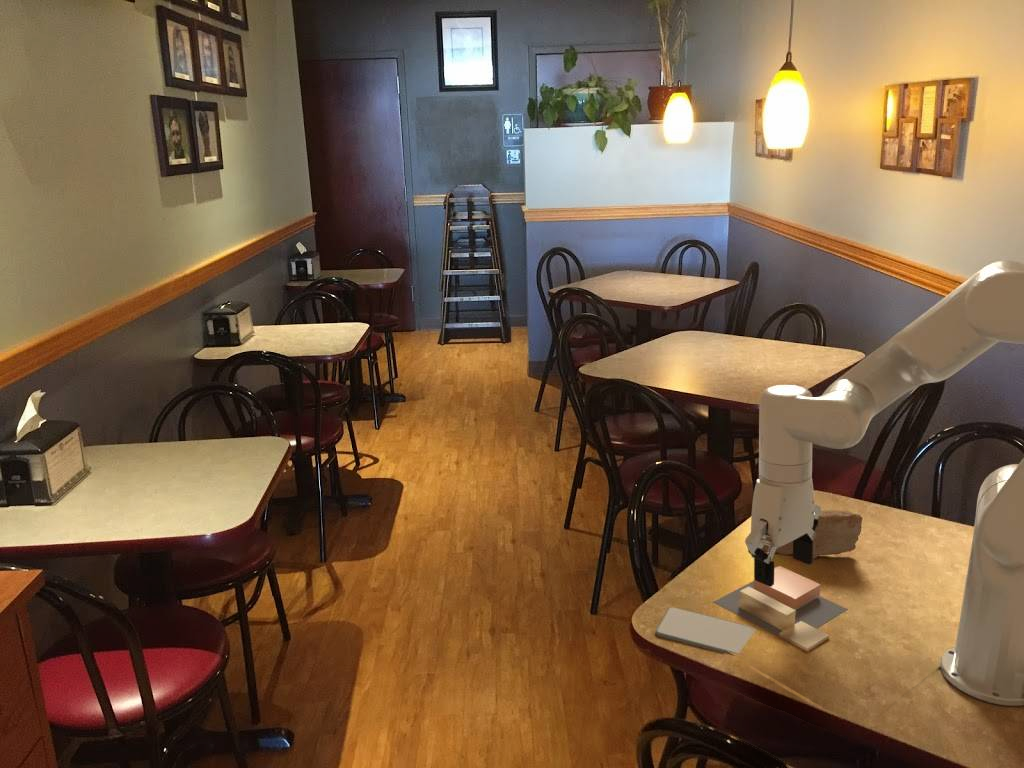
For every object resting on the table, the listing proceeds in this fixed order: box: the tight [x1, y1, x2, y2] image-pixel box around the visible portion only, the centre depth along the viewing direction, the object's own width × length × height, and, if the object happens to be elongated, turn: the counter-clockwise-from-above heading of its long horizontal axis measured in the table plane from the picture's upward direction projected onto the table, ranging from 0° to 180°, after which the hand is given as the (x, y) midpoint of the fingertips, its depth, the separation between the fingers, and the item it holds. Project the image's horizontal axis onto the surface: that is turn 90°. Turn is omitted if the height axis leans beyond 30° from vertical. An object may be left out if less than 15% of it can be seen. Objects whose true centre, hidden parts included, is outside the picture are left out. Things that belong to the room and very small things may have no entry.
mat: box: [713, 580, 848, 645], centre depth 137 cm, size 15×15×1 cm
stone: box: [762, 509, 863, 560], centre depth 151 cm, size 19×10×4 cm
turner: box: [739, 587, 830, 652], centre depth 131 cm, size 14×6×3 cm, turn 36°
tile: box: [753, 565, 821, 610], centre depth 139 cm, size 2×7×8 cm
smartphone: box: [655, 606, 762, 657], centre depth 130 cm, size 8×1×15 cm
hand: (783, 571), depth 130 cm, fingers open, 9 cm apart
